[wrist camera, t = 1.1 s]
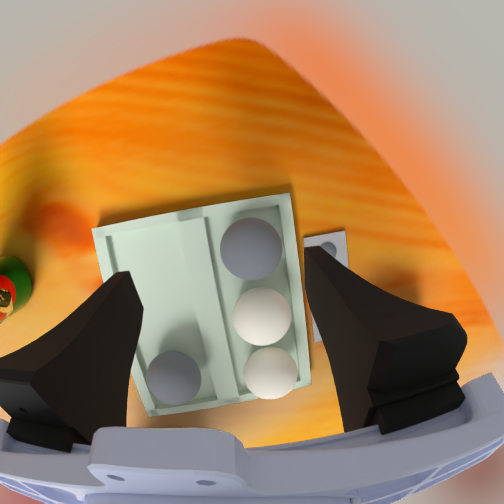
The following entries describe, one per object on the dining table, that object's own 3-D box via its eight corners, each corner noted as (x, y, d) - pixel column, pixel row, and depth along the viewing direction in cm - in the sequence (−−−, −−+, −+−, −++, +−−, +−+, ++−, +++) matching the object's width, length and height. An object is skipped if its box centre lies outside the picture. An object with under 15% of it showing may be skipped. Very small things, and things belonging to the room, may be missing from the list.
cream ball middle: (285, 325, 28) (301, 347, 23) (234, 336, 27) (242, 361, 22) (278, 275, 27) (295, 290, 22) (224, 286, 26) (231, 304, 22)
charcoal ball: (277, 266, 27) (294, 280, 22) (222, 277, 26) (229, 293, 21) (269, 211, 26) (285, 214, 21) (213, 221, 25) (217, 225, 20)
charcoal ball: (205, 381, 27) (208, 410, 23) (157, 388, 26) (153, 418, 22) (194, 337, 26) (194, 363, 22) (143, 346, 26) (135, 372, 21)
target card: (350, 330, 30) (352, 332, 29) (313, 341, 29) (315, 343, 29) (343, 230, 28) (345, 231, 27) (302, 238, 27) (304, 238, 27)
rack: (306, 377, 30) (311, 384, 28) (149, 409, 27) (148, 416, 26) (285, 193, 26) (289, 193, 25) (96, 227, 24) (91, 229, 23)
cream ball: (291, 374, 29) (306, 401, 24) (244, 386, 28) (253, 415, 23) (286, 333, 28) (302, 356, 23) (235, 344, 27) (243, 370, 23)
